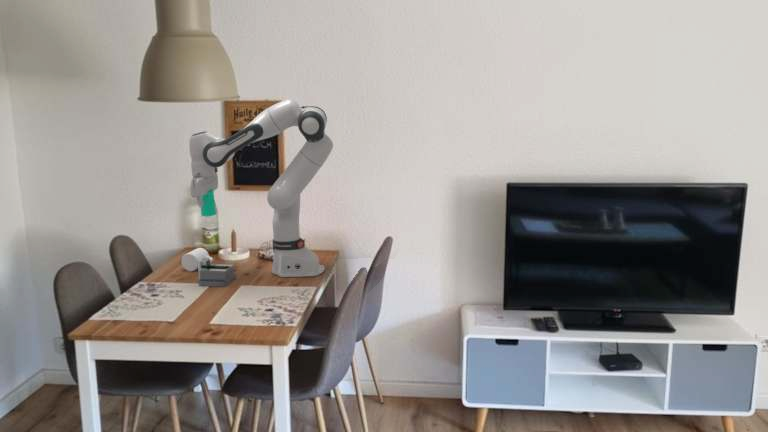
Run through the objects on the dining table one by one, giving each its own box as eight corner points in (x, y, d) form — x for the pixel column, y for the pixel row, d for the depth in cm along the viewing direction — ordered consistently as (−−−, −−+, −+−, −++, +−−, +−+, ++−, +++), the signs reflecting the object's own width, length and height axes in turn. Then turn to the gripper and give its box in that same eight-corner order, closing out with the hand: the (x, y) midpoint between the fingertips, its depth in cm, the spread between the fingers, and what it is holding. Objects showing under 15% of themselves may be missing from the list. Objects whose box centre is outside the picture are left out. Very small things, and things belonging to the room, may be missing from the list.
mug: (182, 270, 323) (180, 253, 321) (194, 264, 332) (192, 247, 331) (206, 272, 320) (205, 254, 318) (218, 266, 329) (216, 248, 327)
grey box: (235, 277, 311) (234, 263, 309) (224, 286, 299) (223, 271, 298) (210, 277, 313) (209, 262, 311) (199, 285, 301) (197, 271, 300)
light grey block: (225, 275, 308) (224, 258, 306) (220, 279, 302) (219, 262, 301) (204, 274, 310) (203, 258, 308) (198, 278, 304) (197, 262, 302)
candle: (218, 212, 317) (214, 184, 314) (213, 216, 311) (210, 188, 308) (204, 213, 318) (200, 185, 314) (199, 216, 312) (196, 188, 309)
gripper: (199, 175, 298) (203, 209, 301) (219, 167, 318) (222, 199, 321) (185, 175, 299) (188, 209, 302) (205, 167, 319) (208, 199, 322)
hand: (206, 204), depth 312 cm, fingers open, 8 cm apart
